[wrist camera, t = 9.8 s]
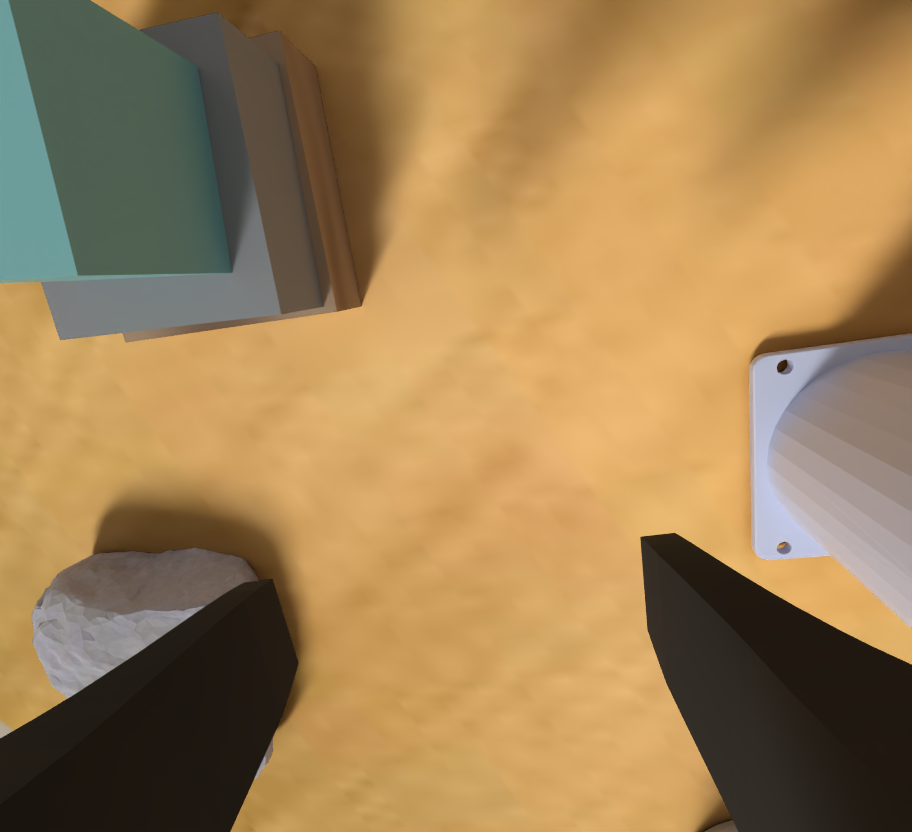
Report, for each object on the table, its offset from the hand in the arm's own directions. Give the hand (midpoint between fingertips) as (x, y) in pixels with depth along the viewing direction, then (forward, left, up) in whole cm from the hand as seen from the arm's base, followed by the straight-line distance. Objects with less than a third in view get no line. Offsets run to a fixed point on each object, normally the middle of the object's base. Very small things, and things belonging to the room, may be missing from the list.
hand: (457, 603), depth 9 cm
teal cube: (+8, -10, -5) cm, 13 cm away
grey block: (+8, -10, -8) cm, 15 cm away
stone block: (+16, +10, -11) cm, 22 cm away
